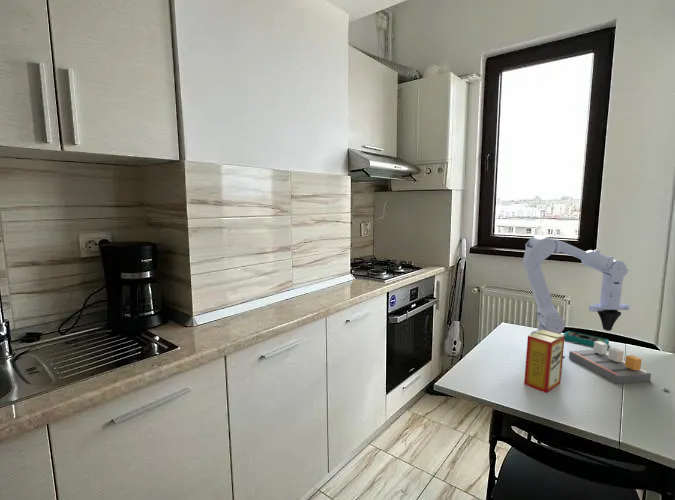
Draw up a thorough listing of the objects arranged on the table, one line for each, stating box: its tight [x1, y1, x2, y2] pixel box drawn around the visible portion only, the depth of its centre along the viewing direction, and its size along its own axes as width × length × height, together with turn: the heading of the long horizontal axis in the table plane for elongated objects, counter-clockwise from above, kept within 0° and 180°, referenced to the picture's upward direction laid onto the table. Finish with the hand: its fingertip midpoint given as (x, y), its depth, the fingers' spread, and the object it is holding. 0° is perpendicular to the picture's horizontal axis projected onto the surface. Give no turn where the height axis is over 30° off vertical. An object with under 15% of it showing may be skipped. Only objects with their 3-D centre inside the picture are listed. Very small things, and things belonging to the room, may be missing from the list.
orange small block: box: [624, 354, 643, 370], centre depth 115 cm, size 2×3×4 cm
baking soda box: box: [523, 329, 565, 394], centre depth 110 cm, size 10×6×16 cm
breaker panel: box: [568, 341, 652, 385], centre depth 121 cm, size 12×19×6 cm, turn 9°
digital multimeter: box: [563, 330, 610, 349], centre depth 144 cm, size 7×15×3 cm, turn 45°
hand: (606, 329), depth 129 cm, fingers closed
